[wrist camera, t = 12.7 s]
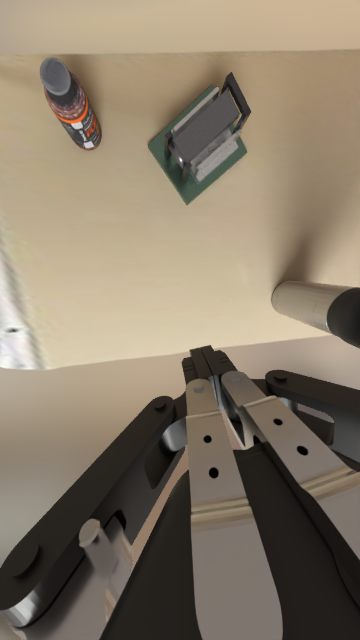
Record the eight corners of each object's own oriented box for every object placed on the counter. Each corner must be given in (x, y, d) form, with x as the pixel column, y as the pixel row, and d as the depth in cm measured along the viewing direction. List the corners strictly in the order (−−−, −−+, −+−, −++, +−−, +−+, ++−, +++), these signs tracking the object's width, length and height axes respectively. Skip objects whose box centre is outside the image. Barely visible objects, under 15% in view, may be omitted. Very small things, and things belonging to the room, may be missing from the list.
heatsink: (187, 205, 41) (192, 192, 34) (148, 148, 38) (145, 119, 30) (245, 154, 40) (263, 129, 32) (210, 89, 36) (222, 44, 29)
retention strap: (182, 166, 34) (240, 113, 32) (168, 144, 32) (227, 87, 31) (181, 170, 35) (237, 119, 33) (168, 149, 34) (224, 95, 32)
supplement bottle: (101, 155, 37) (76, 110, 27) (70, 147, 36) (31, 96, 26) (103, 119, 36) (78, 55, 25) (71, 109, 35) (30, 39, 24)
